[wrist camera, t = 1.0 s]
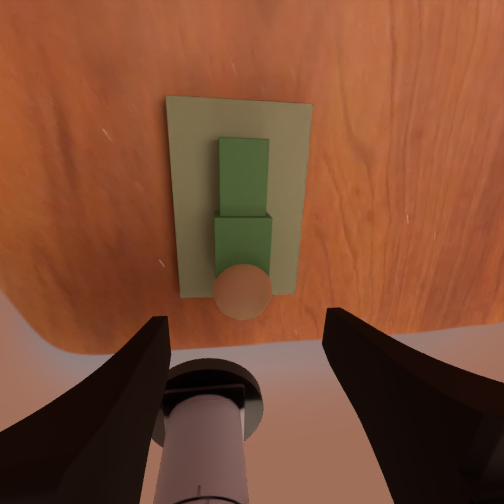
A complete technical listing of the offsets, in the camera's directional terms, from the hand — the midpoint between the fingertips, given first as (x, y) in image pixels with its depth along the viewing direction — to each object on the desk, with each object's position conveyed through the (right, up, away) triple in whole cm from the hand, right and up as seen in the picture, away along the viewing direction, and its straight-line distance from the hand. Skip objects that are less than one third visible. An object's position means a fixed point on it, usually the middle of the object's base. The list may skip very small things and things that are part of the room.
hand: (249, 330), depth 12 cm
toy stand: (-1, +7, +5) cm, 9 cm away
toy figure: (-1, +5, +5) cm, 7 cm away
